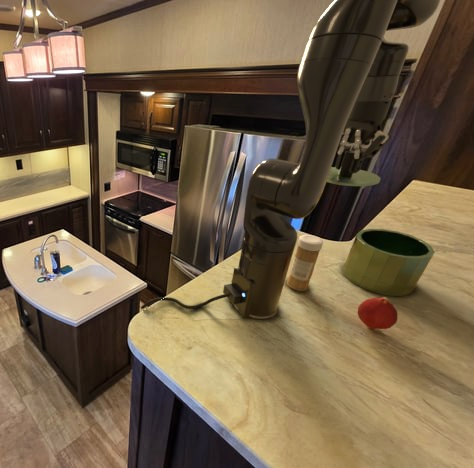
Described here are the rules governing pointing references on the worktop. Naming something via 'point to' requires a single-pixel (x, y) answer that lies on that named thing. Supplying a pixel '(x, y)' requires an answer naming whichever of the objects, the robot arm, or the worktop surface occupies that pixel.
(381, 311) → the onion
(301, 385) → the worktop surface
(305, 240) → the sprinkles bottle
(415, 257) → the bin
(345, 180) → the bin lid
